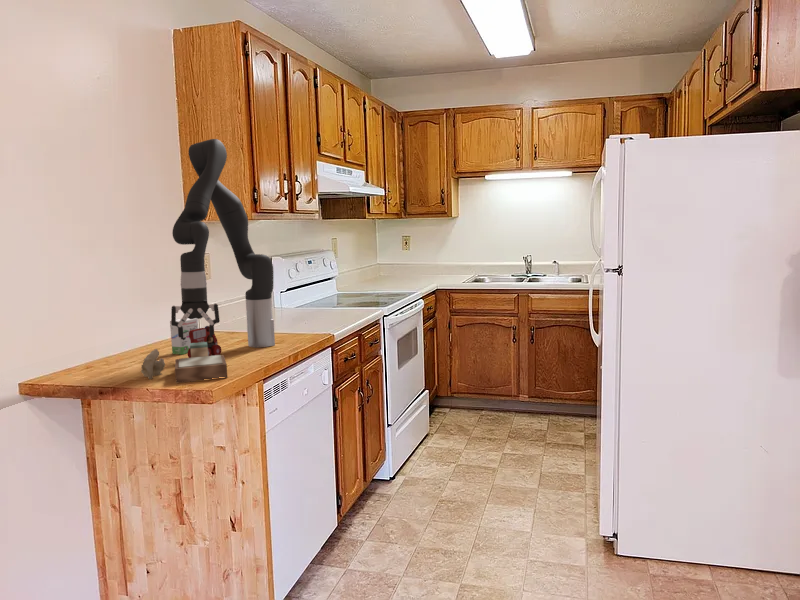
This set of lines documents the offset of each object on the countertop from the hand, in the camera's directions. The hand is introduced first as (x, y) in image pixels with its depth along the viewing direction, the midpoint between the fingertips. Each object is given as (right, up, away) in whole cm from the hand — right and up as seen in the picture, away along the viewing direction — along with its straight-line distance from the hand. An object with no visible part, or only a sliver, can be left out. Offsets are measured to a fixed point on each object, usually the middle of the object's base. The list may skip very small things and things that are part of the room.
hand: (196, 337), depth 194 cm
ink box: (-12, -7, +24) cm, 28 cm away
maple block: (+1, -9, +1) cm, 9 cm away
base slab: (+5, -10, -11) cm, 16 cm away
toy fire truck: (-2, -8, +14) cm, 16 cm away
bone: (-10, -11, -11) cm, 18 cm away
